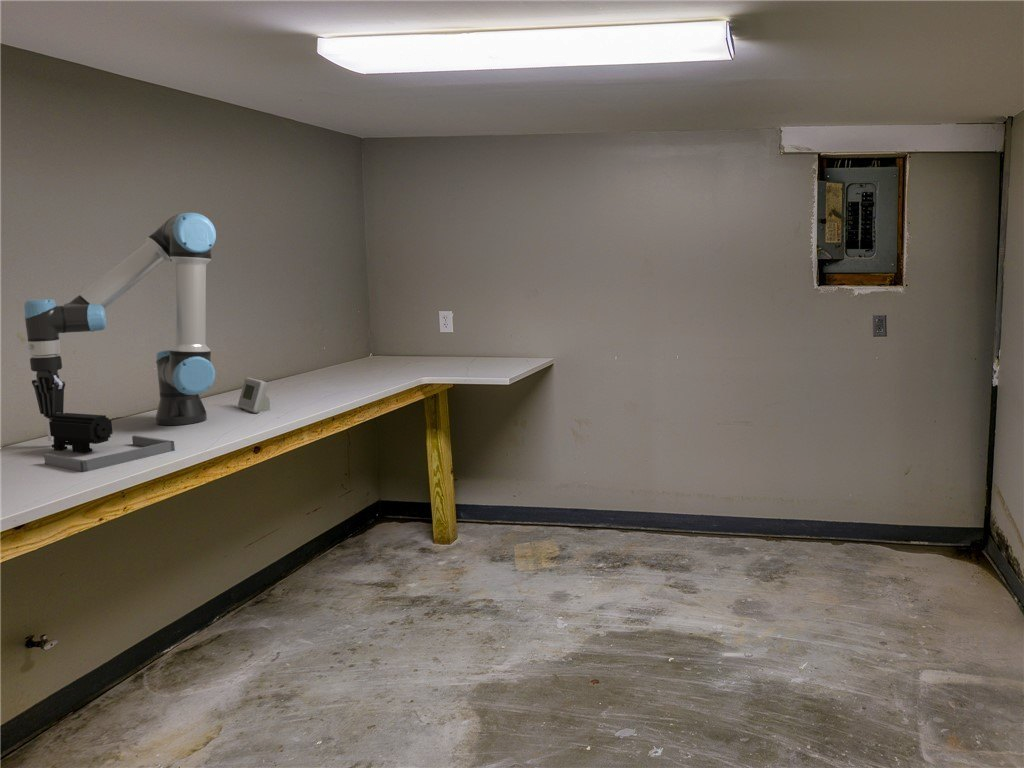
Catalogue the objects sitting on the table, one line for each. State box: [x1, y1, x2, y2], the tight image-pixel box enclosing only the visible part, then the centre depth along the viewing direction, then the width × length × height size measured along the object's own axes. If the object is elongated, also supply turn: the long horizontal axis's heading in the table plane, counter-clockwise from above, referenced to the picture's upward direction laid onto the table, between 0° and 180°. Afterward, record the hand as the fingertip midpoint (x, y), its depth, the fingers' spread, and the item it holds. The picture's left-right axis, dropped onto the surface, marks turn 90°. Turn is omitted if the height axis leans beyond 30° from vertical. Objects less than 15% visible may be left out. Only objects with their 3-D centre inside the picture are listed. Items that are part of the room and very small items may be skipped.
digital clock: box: [237, 377, 271, 414], centre depth 274 cm, size 16×9×11 cm, turn 27°
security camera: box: [49, 412, 114, 454], centre depth 217 cm, size 7×18×10 cm, turn 69°
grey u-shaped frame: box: [43, 434, 176, 473], centre depth 211 cm, size 25×17×2 cm
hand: (54, 439), depth 225 cm, fingers closed
